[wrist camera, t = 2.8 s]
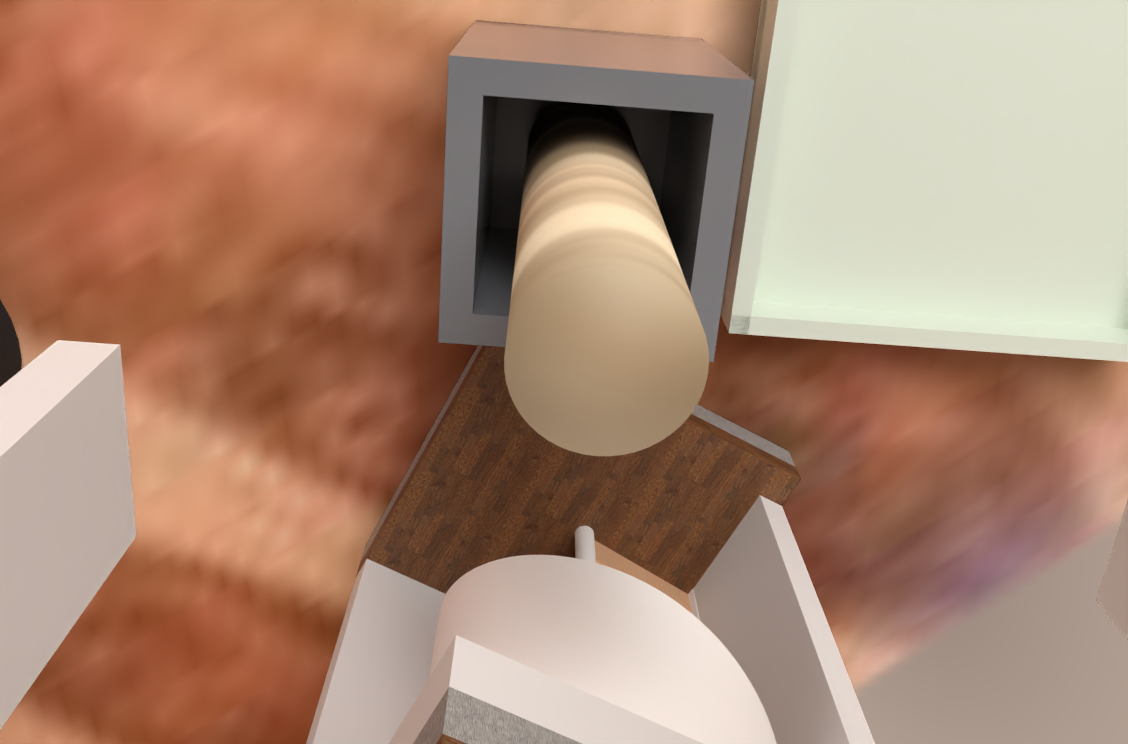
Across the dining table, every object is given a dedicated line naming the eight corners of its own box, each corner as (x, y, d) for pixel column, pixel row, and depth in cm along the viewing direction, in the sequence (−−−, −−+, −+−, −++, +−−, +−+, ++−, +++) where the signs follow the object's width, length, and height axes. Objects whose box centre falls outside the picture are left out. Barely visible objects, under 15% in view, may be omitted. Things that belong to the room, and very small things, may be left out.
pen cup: (476, 20, 32) (448, 55, 23) (702, 39, 32) (754, 80, 24) (465, 240, 34) (438, 342, 26) (675, 256, 35) (713, 361, 26)
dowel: (531, 91, 32) (509, 259, 16) (638, 100, 32) (722, 274, 16) (524, 197, 33) (498, 449, 17) (627, 205, 33) (695, 462, 17)
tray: (808, -331, 28) (831, -354, 26) (1318, -282, 29) (1384, -299, 27) (717, 306, 35) (728, 332, 33) (1129, 336, 36) (1168, 364, 34)
